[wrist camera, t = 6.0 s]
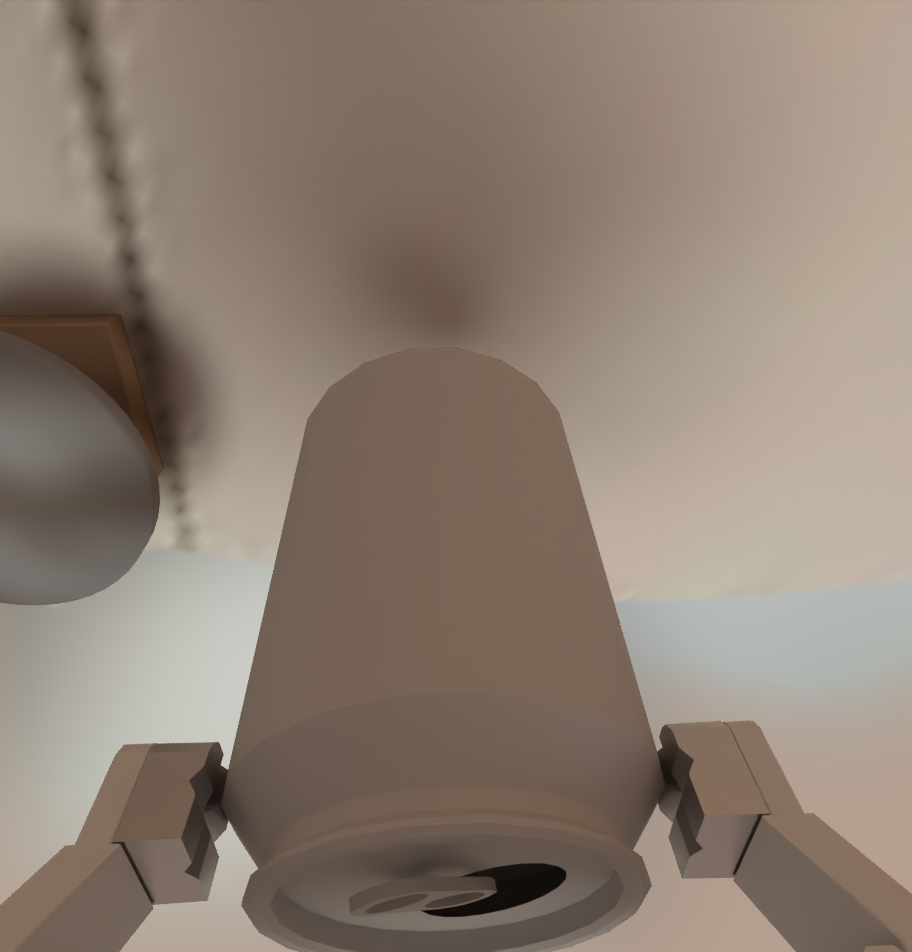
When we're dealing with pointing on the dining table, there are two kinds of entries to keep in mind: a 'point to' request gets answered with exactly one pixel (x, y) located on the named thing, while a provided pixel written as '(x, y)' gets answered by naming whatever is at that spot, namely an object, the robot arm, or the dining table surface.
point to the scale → (71, 458)
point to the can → (440, 682)
